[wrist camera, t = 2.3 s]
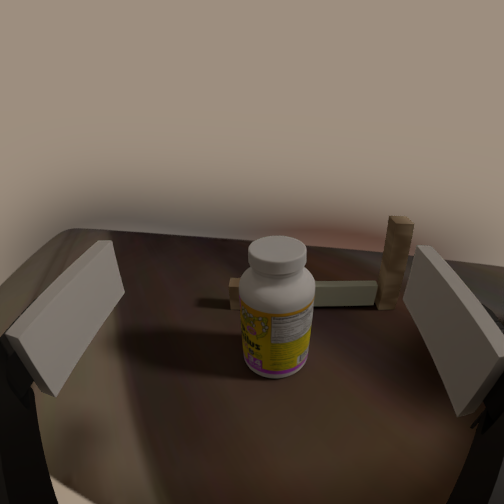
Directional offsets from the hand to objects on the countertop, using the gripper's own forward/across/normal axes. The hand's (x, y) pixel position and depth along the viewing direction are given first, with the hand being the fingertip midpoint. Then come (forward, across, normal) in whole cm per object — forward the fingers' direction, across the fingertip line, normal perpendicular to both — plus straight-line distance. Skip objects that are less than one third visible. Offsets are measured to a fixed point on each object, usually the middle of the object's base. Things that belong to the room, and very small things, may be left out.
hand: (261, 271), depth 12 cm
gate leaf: (+21, +5, -17) cm, 27 cm away
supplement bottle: (+11, +1, -17) cm, 21 cm away
